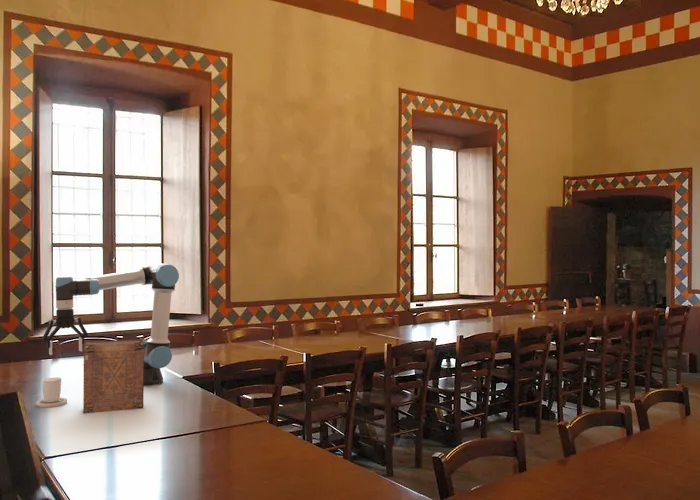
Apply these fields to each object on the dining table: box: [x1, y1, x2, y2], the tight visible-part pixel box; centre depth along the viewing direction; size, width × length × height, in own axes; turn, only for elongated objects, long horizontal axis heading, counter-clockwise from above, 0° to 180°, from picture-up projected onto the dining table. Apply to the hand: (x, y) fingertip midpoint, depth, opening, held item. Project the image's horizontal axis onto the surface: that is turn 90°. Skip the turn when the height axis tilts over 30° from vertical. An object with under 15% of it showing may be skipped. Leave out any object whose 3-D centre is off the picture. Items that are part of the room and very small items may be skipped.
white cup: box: [42, 376, 62, 402], centre depth 293 cm, size 8×8×10 cm
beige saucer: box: [35, 397, 68, 409], centre depth 293 cm, size 13×13×2 cm
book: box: [82, 339, 145, 414], centre depth 285 cm, size 25×9×30 cm, turn 111°
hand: (65, 352), depth 304 cm, fingers open, 13 cm apart
